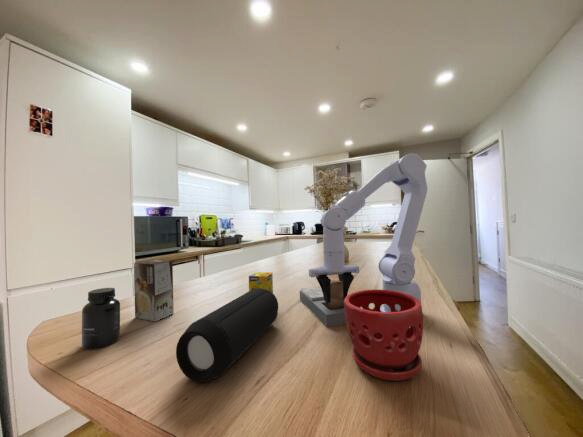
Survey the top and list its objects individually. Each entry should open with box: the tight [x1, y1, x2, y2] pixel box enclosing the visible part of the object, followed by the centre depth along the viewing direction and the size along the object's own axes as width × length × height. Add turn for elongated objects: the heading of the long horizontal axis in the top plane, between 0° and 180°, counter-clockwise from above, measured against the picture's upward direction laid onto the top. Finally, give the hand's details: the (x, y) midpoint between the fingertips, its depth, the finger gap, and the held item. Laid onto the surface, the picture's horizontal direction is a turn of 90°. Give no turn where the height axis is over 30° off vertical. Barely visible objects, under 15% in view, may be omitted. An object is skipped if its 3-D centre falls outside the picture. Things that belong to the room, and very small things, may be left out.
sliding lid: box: [300, 286, 324, 301], centre depth 75 cm, size 10×11×4 cm
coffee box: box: [133, 259, 175, 322], centre depth 69 cm, size 9×6×16 cm
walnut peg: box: [328, 279, 344, 310], centre depth 65 cm, size 4×4×7 cm
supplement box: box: [248, 271, 274, 294], centre depth 71 cm, size 6×6×11 cm
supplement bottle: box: [81, 287, 121, 351], centre depth 53 cm, size 7×7×12 cm
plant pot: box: [344, 288, 424, 382], centre depth 42 cm, size 13×13×12 cm
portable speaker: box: [175, 288, 279, 383], centre depth 50 cm, size 26×10×10 cm, turn 161°
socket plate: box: [299, 290, 347, 328], centre depth 70 cm, size 10×22×3 cm, turn 15°
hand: (335, 300), depth 65 cm, fingers closed on walnut peg, 4 cm apart
